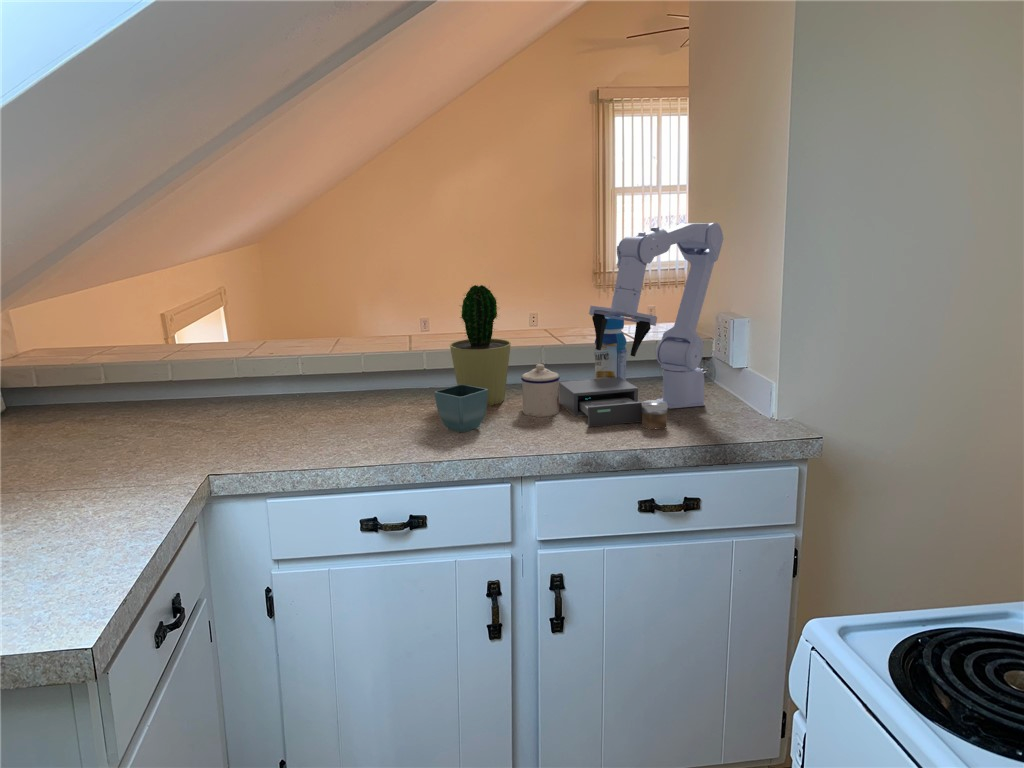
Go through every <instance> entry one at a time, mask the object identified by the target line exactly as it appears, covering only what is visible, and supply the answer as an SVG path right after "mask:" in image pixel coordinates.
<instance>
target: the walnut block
mask: <svg viewBox="0 0 1024 768" xmlns="http://www.w3.org/2000/svg"><path fill="white" fill-rule="evenodd" d="M667 413H668V412H667ZM667 413H665V414H660V415H651V414H645V413H643V412H642V422H641V425H642V424H643V425H644V426H643V425H642V426H643V427H645V428H646V427H647V428H646V429H648V428H649V429H652V430H656V429H655V428H662V429H666V428H667V423H668V422H667V419H668V418H667V417H668V416H667V415H668V414H667ZM665 427H666V428H665ZM649 429H648V430H649Z"/></svg>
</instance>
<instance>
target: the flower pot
mask: <svg viewBox="0 0 1024 768" xmlns="http://www.w3.org/2000/svg"><path fill="white" fill-rule="evenodd" d="M433 395H434V399H435V403H436V404H435V405H436V409H437V412H438V415H439V417H440V420H441V422H442V423H443V425H444V426H445V427H446V428H447V429H448V430H451V431H455V432H458V433H461V434H462V433H466V432H469V431H472V430H476V429H477V428H479V427H480V425H481V424H482V422H483V420H484V419H485V416H486V412H487V408H488V406H487V396H488V389H485V388H480V387H474V386H469V385H463V384H461V385H457V384H456V385H454V386H450V387H445V388H442V389H439V390H436V391H434V392H433Z"/></svg>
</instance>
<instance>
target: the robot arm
mask: <svg viewBox="0 0 1024 768" xmlns="http://www.w3.org/2000/svg"><path fill="white" fill-rule="evenodd" d="M723 242H724V234H723V230H722V227H721V225H720V223H718V222H706V223H705V222H703V223H701V222H695V223H694V222H689V223H688V222H681V223H676V225H675V226H672V227H670V228H668V229H664V228H660V227H659V226H651V227H650V230H649V231H646V232H645V231H640V232H638V233H637V235H635V236H628V235H627V236H625V237H623V239H621V240H620V241H619V243H618V245H617V246H616V257H617V264H616V266H617V269H618V270H617V276H616V279H615V286H614V291H613V296H612V301H611V306H610V307H606V306H596V305H590V306H589V312H588V314H589V315H590V316H591V317H592V323H593V327H594V333H595V339H596V345H595V348H596V349H597V350H601V347H602V341H603V335H604V331H605V327H606V324H607V319H606V318H605V317H607V318H613V319H619V320H624V322H625V321H626V322H632V323H636V324H635V331H634V337H633V343H632V346H631V349H630V356H631V357H633V358H634V357H636V355H637V352H638V350H639V348H640V345H641V343H642V342H643V340H644V338H645V337H646V336H647V334H648V333H649V332H650V330H651V329H652V327H651V326H653V327H656V326H657V321H658V317H657V316H656V315H652V314H648V313H647V314H646V313H642V312H638V310H639V303H640V299H641V295H642V290H643V289H642V288H643V285H644V278H645V276H646V275H645V274H646V269H647V264H649V265H650V264H651V263H652V262H653V260H654V258H656V257H658V256H660V255H663V254H665V253H667V252H668V251H669V250H670V249H671V246H672V245H675V244H676V245H677V247H678V249H679V251H680V253H681V255H682V257H683V259H684V260H685V261H687V262H689V264H690V269H689V271H688V275H687V278H686V282H685V286H684V290H683V293H682V296H681V299H680V304H679V308H678V311H677V314H676V317H675V322H674V326H672V327H671V328H669V329H668V330H666V331H664V332H663V334H662V336H661V339H660V342H659V343H658V344H657V346H656V350H655V357H656V361H657V363H658V364H660V368H661V369H663V370H662V398H656V399H655V400H660V401H665V402H667V403H668V408H667V409H668V410H669V409H681V408H682V409H683V408H692V407H694V408H695V407H702V406H706V403H705V402H704V401H705V374H704V371H703V369H702V368H700V367H698V366H700V364H701V361H702V358H703V345H704V340H703V339H702V337H701V336H700V335H699V334H698V333H697V327H698V323H699V320H700V317H701V316H700V315H701V313H702V309H703V305H704V302H705V298H706V295H707V294H706V293H707V291H708V288H709V287H708V286H709V284H710V280H711V276H712V274H713V273H712V272H713V269H714V265H715V263H716V262H718V259H719V257H720V253H721V249H722V245H723ZM611 315H612V316H611ZM615 315H619V316H623V317H624V318H623V317H617V316H615Z"/></svg>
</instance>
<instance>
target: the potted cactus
mask: <svg viewBox="0 0 1024 768" xmlns="http://www.w3.org/2000/svg"><path fill="white" fill-rule="evenodd" d="M486 286H487V285H483V284H480V285H479V284H477V285H476V284H475V285H471V286H470V287H469V289H468V291H466V293H465V292H463V293H464V294H463V296H464V298H461V299H462V304H460V305H459V307H461V316H460V317H458V318H459V319H461V321H460V322H461V323H464V325H462V326H463V327H465V333H464V337H467V338H465V339H461V340H456V341H453V342H451V343H449V347H450V353H451V360H452V365H453V369H454V374H455V380H456V386H457V385H461V384H463V385H469V386H474V387H480V388H485V389H488V396H487V407H488V405H489V406H494V404H495V405H498V403H499V404H501V403H503V402H504V401H505V396H506V389H507V382H508V381H507V379H508V372H509V371H508V370H509V363H510V354H511V344H512V342H511V341H509V340H505V339H503V338H502V339H499V338H494V337H493V333H494V332H493V331H496V330H497V331H498V328H496V329H494V323H495V321H494V320H498V317H499V318H500V319H501V316H500V314H498V311H499V309H501V307H499V306H497V304H498V305H499V302H497V300H498V299H497V298H496V296H495V295H494V293H493V292H492V290H491V289H490V286H491V285H488V288H487V287H486ZM465 334H466V335H465ZM503 400H504V401H503ZM502 401H503V402H502ZM500 402H501V403H500Z"/></svg>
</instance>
